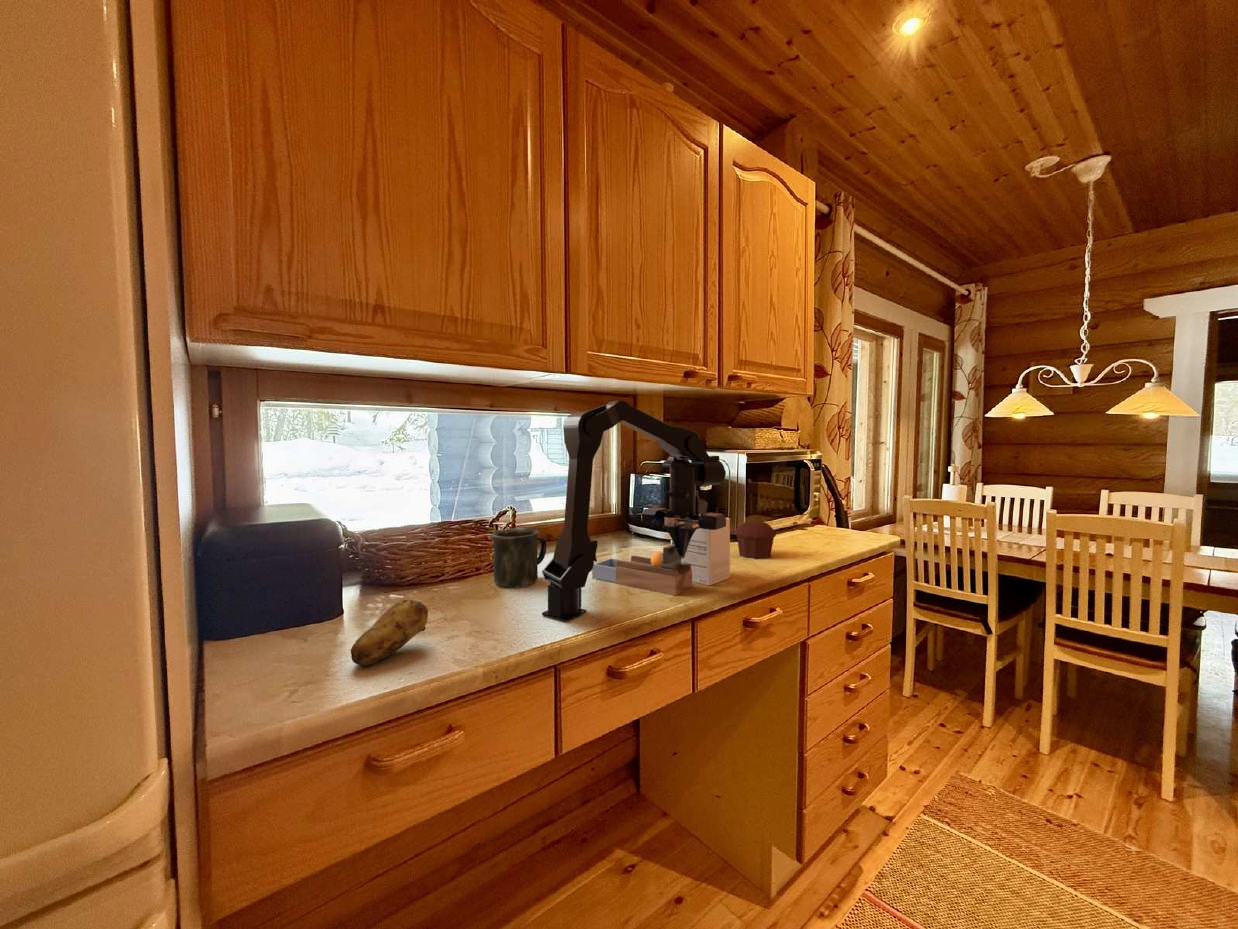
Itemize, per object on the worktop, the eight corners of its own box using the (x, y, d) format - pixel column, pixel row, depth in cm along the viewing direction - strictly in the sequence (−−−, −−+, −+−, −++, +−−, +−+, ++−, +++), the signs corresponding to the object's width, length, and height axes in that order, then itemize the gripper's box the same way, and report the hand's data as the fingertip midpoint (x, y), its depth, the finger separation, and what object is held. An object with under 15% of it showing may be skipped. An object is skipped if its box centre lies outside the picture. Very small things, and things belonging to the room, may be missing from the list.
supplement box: (700, 571, 134) (701, 513, 133) (730, 578, 128) (731, 517, 127) (678, 578, 128) (679, 518, 127) (709, 586, 122) (710, 522, 121)
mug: (482, 582, 125) (482, 532, 124) (531, 570, 135) (531, 524, 135) (510, 592, 117) (509, 539, 117) (559, 578, 128) (559, 530, 127)
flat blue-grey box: (618, 583, 124) (618, 569, 123) (592, 578, 128) (592, 564, 128) (635, 576, 130) (635, 562, 130) (610, 571, 134) (610, 558, 134)
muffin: (726, 554, 153) (727, 520, 152) (749, 549, 160) (750, 516, 159) (761, 562, 144) (761, 526, 143) (783, 556, 151) (784, 521, 150)
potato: (338, 659, 83) (337, 609, 82) (418, 636, 92) (417, 591, 91) (357, 676, 77) (355, 623, 77) (440, 650, 86) (439, 602, 86)
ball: (663, 570, 118) (661, 553, 119) (648, 571, 121) (646, 554, 121) (672, 567, 122) (669, 550, 122) (657, 567, 124) (655, 550, 124)
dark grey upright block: (667, 575, 116) (667, 548, 115) (658, 573, 117) (658, 547, 117) (684, 567, 122) (685, 542, 122) (675, 566, 124) (675, 540, 123)
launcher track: (675, 595, 115) (675, 572, 114) (615, 583, 124) (615, 561, 124) (691, 586, 121) (692, 564, 121) (634, 575, 130) (634, 555, 130)
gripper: (736, 486, 118) (735, 555, 119) (664, 482, 129) (664, 544, 130) (715, 490, 109) (714, 565, 110) (640, 485, 120) (639, 553, 121)
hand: (682, 556), depth 118 cm, fingers closed
